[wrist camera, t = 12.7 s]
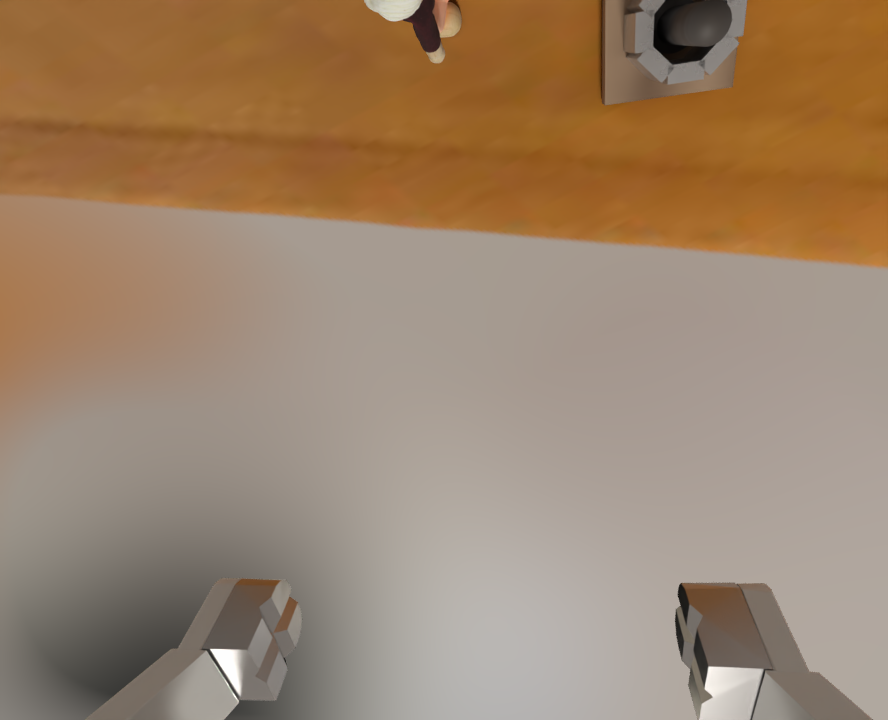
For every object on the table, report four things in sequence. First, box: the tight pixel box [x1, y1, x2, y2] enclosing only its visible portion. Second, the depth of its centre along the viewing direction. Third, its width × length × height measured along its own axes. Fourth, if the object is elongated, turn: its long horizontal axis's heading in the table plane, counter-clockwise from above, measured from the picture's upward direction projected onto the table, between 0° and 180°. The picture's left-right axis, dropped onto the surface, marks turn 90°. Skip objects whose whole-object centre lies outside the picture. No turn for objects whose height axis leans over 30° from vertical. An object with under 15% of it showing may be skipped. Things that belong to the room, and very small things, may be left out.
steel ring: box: [624, 0, 747, 85], centre depth 32 cm, size 6×6×4 cm
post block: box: [602, 0, 738, 105], centre depth 30 cm, size 8×8×10 cm
